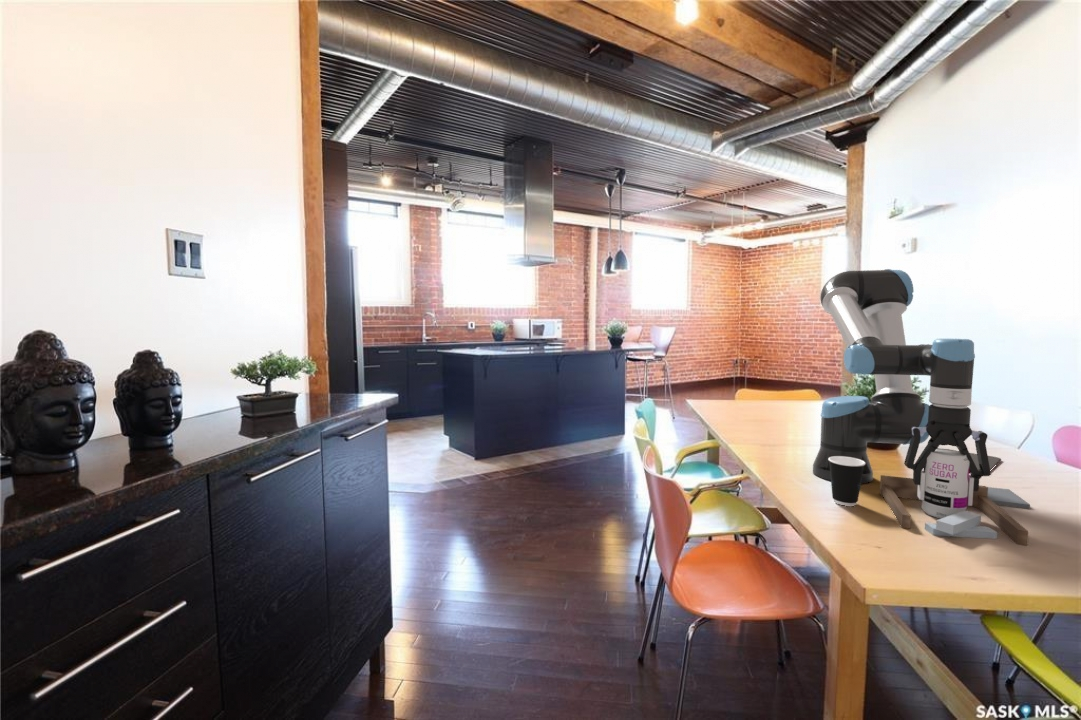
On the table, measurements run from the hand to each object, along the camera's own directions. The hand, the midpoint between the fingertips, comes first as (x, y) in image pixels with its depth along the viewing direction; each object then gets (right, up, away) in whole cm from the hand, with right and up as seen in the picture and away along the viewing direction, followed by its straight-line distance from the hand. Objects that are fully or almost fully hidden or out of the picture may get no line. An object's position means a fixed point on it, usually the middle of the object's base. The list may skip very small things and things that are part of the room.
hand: (943, 500), depth 117 cm
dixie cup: (-18, -3, +8) cm, 20 cm away
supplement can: (0, -4, 0) cm, 3 cm away
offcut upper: (-5, -3, -10) cm, 11 cm away
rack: (0, -3, -1) cm, 3 cm away
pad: (+21, -2, +11) cm, 24 cm away
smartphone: (+41, -1, +41) cm, 58 cm away
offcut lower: (-5, -5, -10) cm, 12 cm away
